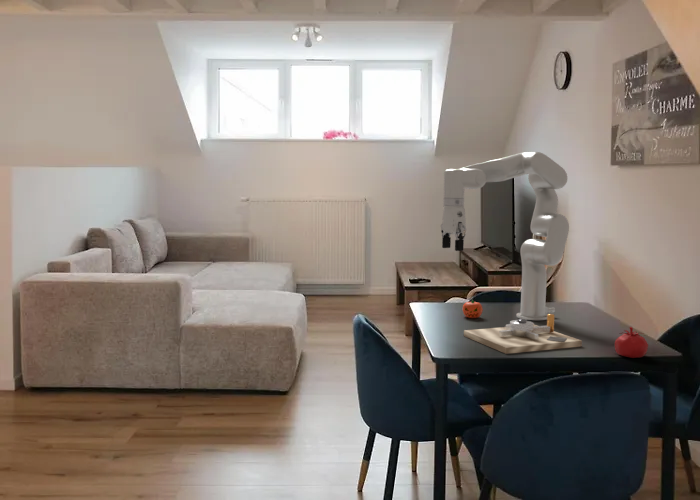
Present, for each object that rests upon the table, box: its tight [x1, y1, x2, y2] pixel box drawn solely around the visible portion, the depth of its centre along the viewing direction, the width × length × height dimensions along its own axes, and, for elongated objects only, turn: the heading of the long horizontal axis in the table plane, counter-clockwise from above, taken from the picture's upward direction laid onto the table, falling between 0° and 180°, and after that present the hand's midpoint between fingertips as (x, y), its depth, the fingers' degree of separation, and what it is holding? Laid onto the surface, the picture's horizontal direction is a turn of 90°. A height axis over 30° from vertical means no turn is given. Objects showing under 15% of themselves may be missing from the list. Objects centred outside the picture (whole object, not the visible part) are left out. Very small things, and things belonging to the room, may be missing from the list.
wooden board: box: [463, 324, 583, 355], centre depth 245 cm, size 30×26×2 cm
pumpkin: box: [462, 299, 483, 319], centre depth 283 cm, size 8×8×7 cm
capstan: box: [499, 313, 555, 340], centre depth 245 cm, size 22×17×6 cm
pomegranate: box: [614, 326, 649, 359], centre depth 227 cm, size 10×10×9 cm
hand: (452, 249), depth 263 cm, fingers open, 9 cm apart
